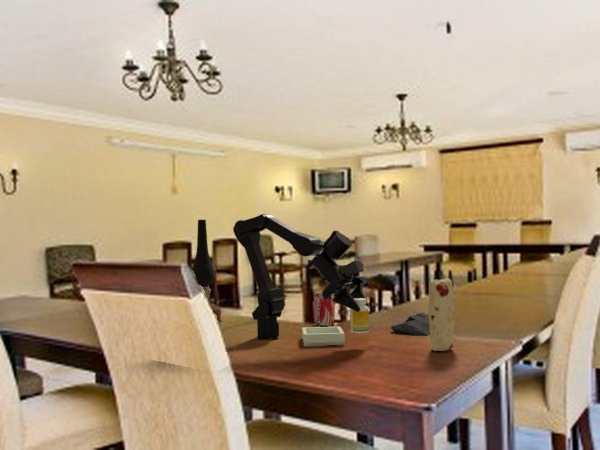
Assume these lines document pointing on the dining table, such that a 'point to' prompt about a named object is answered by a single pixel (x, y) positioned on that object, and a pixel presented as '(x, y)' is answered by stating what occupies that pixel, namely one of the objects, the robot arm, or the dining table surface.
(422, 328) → the dark slate chunk
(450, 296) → the food model
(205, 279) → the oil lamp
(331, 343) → the bin
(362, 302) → the supplement bottle
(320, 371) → the dining table surface
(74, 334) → the dining table surface
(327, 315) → the soda can
